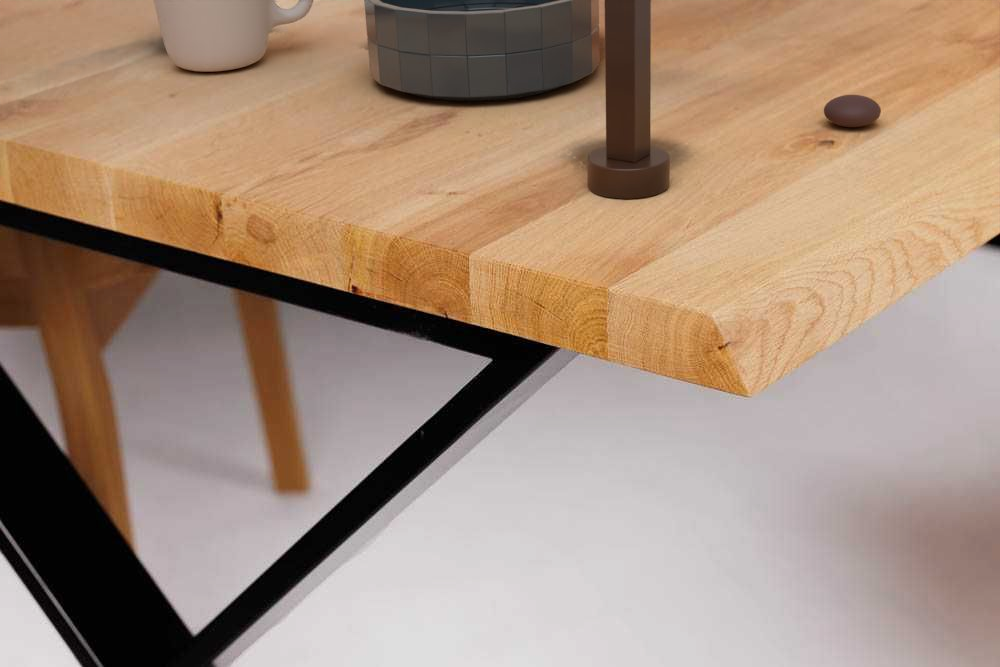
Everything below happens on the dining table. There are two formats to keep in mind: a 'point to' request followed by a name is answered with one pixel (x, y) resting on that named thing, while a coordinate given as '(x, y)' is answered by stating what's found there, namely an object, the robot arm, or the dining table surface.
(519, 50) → the bowl
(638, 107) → the stir stick
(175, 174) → the dining table surface
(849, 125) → the chocolate truffle
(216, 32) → the cup
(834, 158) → the dining table surface
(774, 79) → the dining table surface
